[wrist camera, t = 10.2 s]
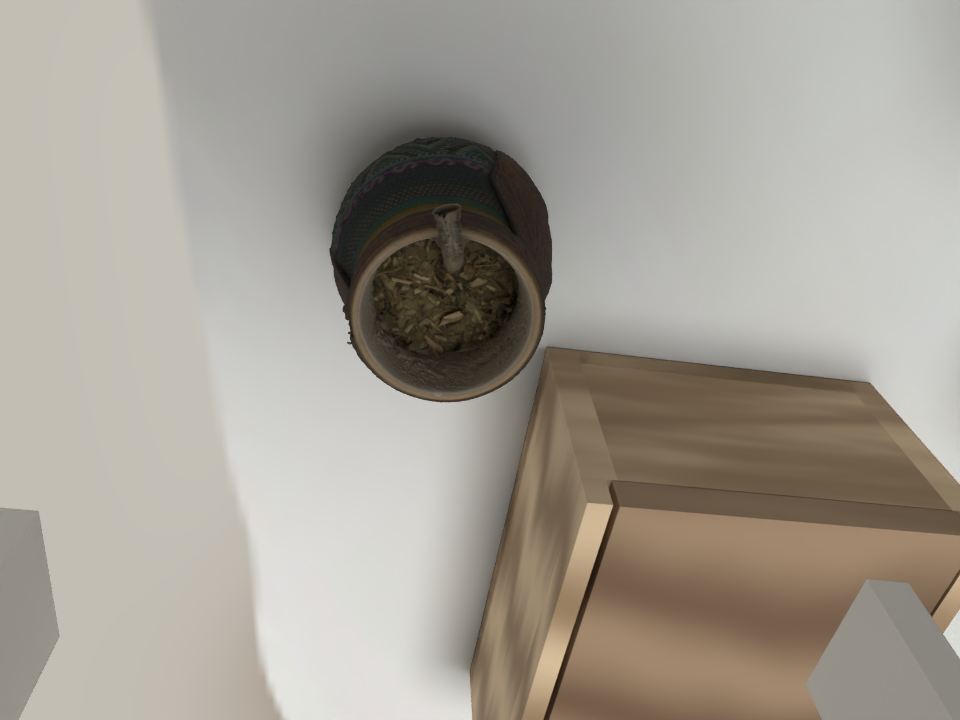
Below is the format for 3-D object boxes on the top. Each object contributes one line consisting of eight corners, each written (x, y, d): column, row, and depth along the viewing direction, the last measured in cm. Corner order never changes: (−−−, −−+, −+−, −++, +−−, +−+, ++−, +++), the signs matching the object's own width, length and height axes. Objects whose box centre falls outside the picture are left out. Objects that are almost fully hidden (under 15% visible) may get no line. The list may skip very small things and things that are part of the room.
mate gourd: (366, 322, 30) (340, 491, 22) (313, 127, 27) (256, 239, 18) (551, 291, 30) (598, 450, 22) (525, 89, 26) (570, 184, 18)
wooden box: (547, 346, 31) (587, 502, 24) (870, 383, 33) (1007, 538, 25) (469, 672, 42) (480, 856, 34) (720, 685, 43) (786, 864, 36)
